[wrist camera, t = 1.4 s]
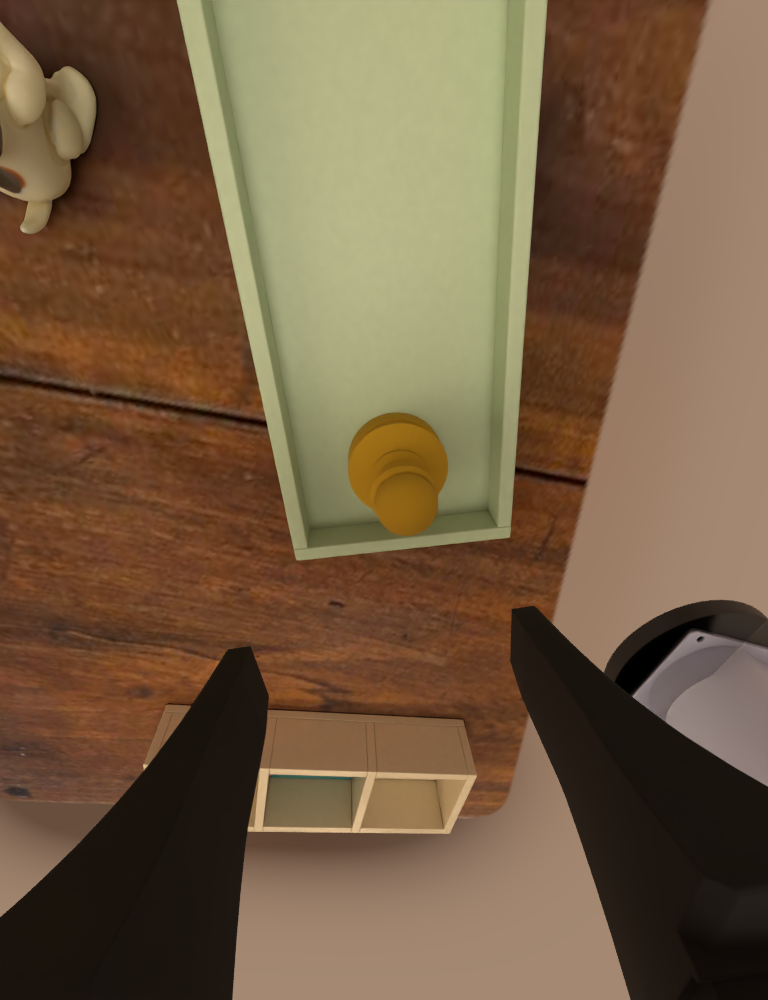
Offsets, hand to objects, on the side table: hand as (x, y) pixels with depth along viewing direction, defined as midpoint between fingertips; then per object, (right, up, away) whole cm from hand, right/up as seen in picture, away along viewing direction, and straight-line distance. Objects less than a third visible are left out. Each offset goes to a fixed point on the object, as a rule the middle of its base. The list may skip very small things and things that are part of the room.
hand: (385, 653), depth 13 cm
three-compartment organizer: (-4, -11, +16) cm, 20 cm away
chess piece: (0, +6, +7) cm, 9 cm away
